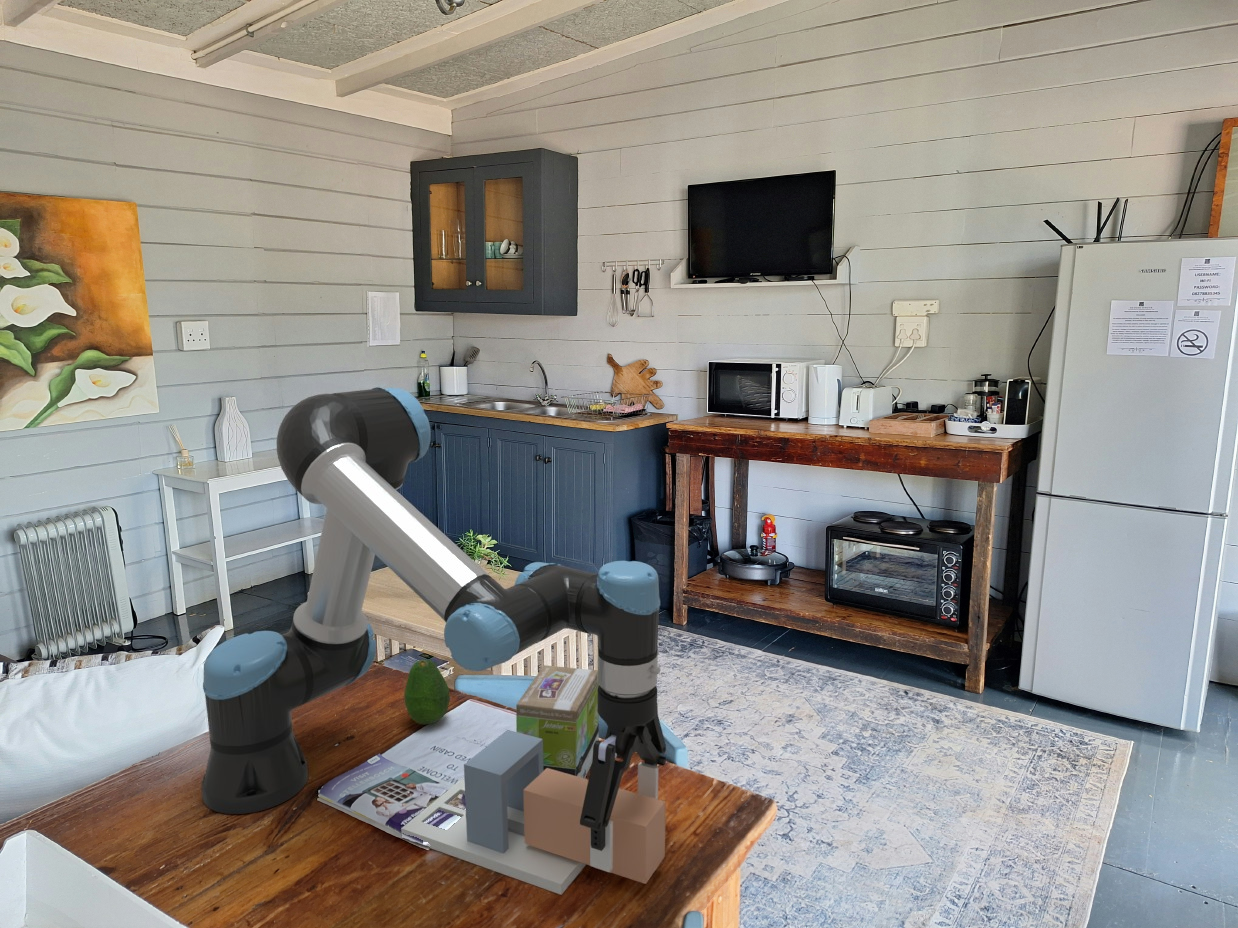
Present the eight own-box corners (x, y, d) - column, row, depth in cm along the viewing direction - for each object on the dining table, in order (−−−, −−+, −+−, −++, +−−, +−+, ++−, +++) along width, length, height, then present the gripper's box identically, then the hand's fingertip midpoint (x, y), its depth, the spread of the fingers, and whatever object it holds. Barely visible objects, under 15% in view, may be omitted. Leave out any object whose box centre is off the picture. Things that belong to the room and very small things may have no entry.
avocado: (396, 724, 150) (393, 662, 147) (430, 707, 156) (427, 647, 154) (427, 738, 145) (424, 673, 143) (460, 720, 151) (458, 657, 149)
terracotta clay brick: (524, 843, 113) (523, 789, 112) (547, 819, 119) (546, 767, 117) (645, 883, 105) (646, 826, 104) (664, 856, 111) (665, 801, 109)
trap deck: (401, 837, 118) (396, 753, 116) (462, 787, 130) (459, 709, 128) (561, 894, 107) (559, 801, 104) (611, 833, 119) (611, 749, 116)
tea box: (578, 800, 127) (577, 709, 124) (515, 792, 129) (512, 703, 126) (600, 749, 141) (599, 667, 139) (543, 743, 143) (541, 662, 141)
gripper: (608, 737, 93) (607, 906, 97) (692, 654, 114) (688, 794, 119) (550, 721, 96) (551, 885, 100) (642, 643, 118) (640, 780, 122)
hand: (625, 836), depth 109 cm, fingers open, 13 cm apart
